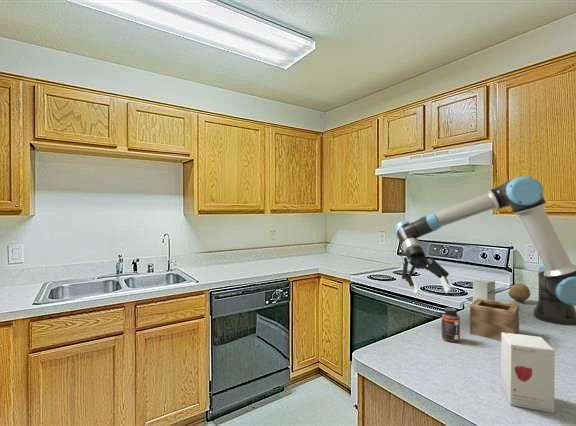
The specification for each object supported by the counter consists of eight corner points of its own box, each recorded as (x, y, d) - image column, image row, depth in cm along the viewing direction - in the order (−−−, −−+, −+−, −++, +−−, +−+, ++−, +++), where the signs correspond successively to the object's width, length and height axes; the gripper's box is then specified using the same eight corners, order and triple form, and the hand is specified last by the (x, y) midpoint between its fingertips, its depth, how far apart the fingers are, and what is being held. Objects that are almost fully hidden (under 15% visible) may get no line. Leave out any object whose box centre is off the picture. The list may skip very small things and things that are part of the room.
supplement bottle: (462, 343, 115) (462, 311, 115) (444, 342, 116) (444, 310, 116) (456, 337, 121) (456, 307, 121) (439, 336, 122) (439, 306, 122)
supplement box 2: (509, 406, 78) (509, 344, 78) (500, 387, 86) (500, 331, 86) (556, 414, 75) (555, 349, 75) (541, 394, 83) (541, 335, 83)
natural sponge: (533, 305, 162) (533, 285, 162) (512, 303, 165) (512, 284, 165) (527, 301, 170) (527, 282, 170) (507, 299, 174) (507, 281, 174)
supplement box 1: (487, 308, 158) (487, 282, 158) (472, 304, 164) (472, 279, 164) (495, 306, 161) (495, 280, 161) (480, 302, 168) (480, 278, 168)
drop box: (519, 332, 125) (518, 304, 125) (514, 343, 115) (514, 312, 115) (478, 324, 135) (478, 298, 135) (470, 333, 124) (470, 305, 124)
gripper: (435, 255, 149) (457, 295, 134) (384, 256, 145) (400, 298, 130) (442, 244, 144) (465, 286, 129) (389, 245, 140) (407, 288, 125)
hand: (433, 292), depth 129 cm, fingers open, 13 cm apart
